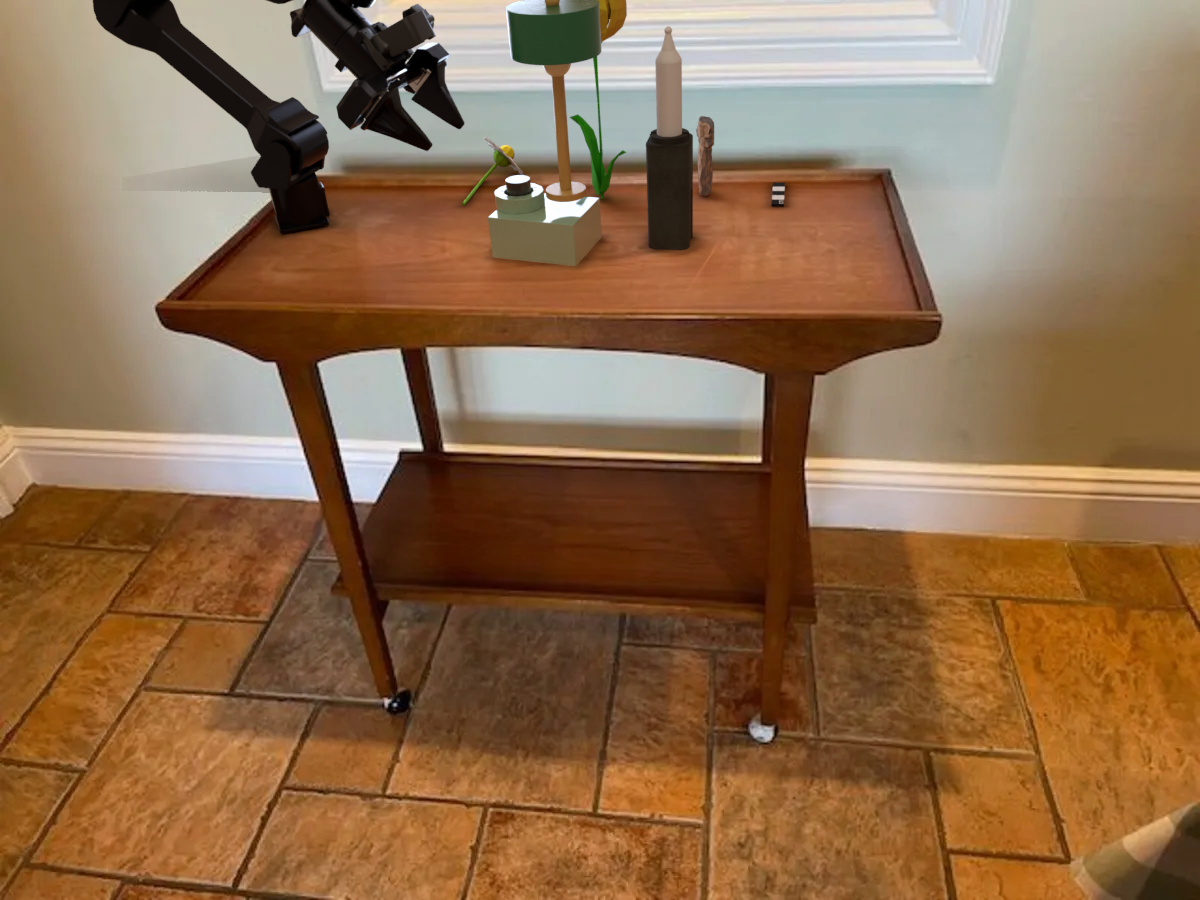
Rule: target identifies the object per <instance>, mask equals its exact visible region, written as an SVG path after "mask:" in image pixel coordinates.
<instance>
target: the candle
mask: <svg viewBox="0 0 1200 900" xmlns="http://www.w3.org/2000/svg"><path fill="white" fill-rule="evenodd" d="M663 31H664V38H663V41H662V45H661V49H660V51H659V53H658V54H657V56H656V58H655V104H656V105H655V108H656V129H653V130H651V131H650V133H649V136H648V138H647V141H646V142H645V162H646V197H647V198H646V202H647V203H646V204H647V206H646V207H647V239H648V240H647V241H648V243H647V244H648V248H649V249H652V250H657V251H661V250H662V251H686V250H688V249H690V248H691V239H693V236H694V135H693V133H691V132H690V131H689V130H688V129H687V128H683V69H682V68H683V62H682V61H683V59H682V56H681V55H680V53H679V52H678V50H677V49H676V45H675V42H674V39H673V35H672V32H673V29H672V27H671V26H668V25H667V26H666V27H664V30H663Z"/></svg>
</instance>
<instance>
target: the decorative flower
mask: <svg viewBox="0 0 1200 900" xmlns="http://www.w3.org/2000/svg"><path fill="white" fill-rule="evenodd" d="M483 139H484V140H485V141H486V142H487V145H488V146H489V147H491V148H492V149H493V151H494V152H493V157H492V158H493V161H494V164H493V165H492V166H491V168H490V169H489V170H488V171H487V172H486V173H485V174H484V176H483V177H481V179H480V180H479V182H477V184H476V185H475V186H474V187H473V188H472V190H471V192H469V194H468V195H467V197H465V199H464V200H463V201H462V203H461V205H462V206H466V205H467V203H468V202H469V201H470V199H471V198H472V197H473V196H474V195H475V193H476V192H477V191H478V189H479V188H480V187H481V186H482V184H483V183H484V182H485V181H486V180H487V179H488V178H489V176H490V175H491V174H492V173H493V172H494V171H495V169H497V167H498V166H499V167H500V168H508V167H509V166H510V167H512V169H513V170H514V171H515V172H518V173H519V175H524V171H523V169H521V168H520V167H519V166H518V165H517V164H516V162H515V160H514V159H515V153H516V152H515V150H514V149H513V147H512V146H511V145H507V144H504V145H501V146H499V145H497V144H495V143H494V142H493V141H492V140H491V139H490V138H489V137H485V136H483Z"/></svg>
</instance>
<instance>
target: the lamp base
mask: <svg viewBox="0 0 1200 900" xmlns="http://www.w3.org/2000/svg"><path fill="white" fill-rule="evenodd" d="M531 192H532V193H531V194H528V195H525V196H517V197H516V196H508V195H507V191H506V184H505V185H502V186H499V187H497V189H495V190H494V192H493V193H494V201H495V208H496V210H494V211H493V212H492V213H491V214H490V215H488V216H487V222H488V231H489V238H490V239H489V240H490V247H491V256H492V258H494V259H505V260H511V261H523V262H532V263H540V264H550V265H561V266H569V267H577V266H578V264H579V263H580V262H581V261H582V260H583V259H584V258H585V257H586V256H587V255H588V253H589V252H590V251H591V250H593V248H594V247H595V246H596V244H598V242H599V241H600V240H601V239H602V238H603V235H602V218H601V216H602V215H601V197H596V196H595V197H594V196H585V197H583V198H582V199H579V200H576V201H571V202H556V201H552V200H549V199H548V198H547V197H546V192H545V190H544V187H543V186H542V185H540V184H537V183H534V182H531Z"/></svg>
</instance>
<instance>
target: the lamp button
mask: <svg viewBox="0 0 1200 900" xmlns="http://www.w3.org/2000/svg"><path fill="white" fill-rule="evenodd" d="M504 181H505V185H506V191H507V195H508V196H516V197H517V196H525V195H528V194H531V193H532V192H531V183H532V182H531V177H530V176H528V175H524V174H523V175H522V174H517V175H510V176H508V177H507V178H505V180H504Z"/></svg>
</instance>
